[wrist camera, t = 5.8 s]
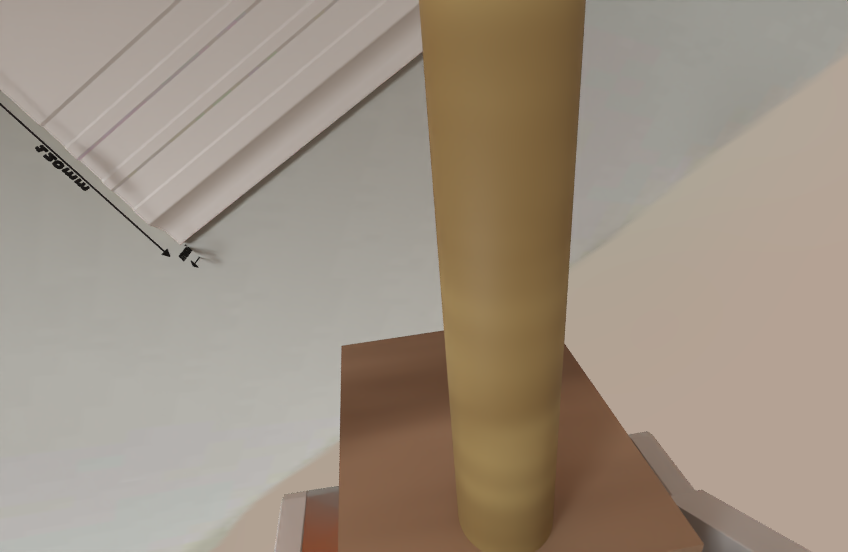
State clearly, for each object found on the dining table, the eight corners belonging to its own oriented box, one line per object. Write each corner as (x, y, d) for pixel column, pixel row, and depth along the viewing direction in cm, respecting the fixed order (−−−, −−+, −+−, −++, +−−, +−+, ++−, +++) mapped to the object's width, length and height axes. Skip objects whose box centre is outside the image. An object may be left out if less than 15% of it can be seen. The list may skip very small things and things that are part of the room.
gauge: (268, -24, 8) (112, -135, 3) (559, -48, 8) (918, -185, 3) (370, 489, 14) (384, 775, 8) (539, 458, 14) (654, 714, 9)
